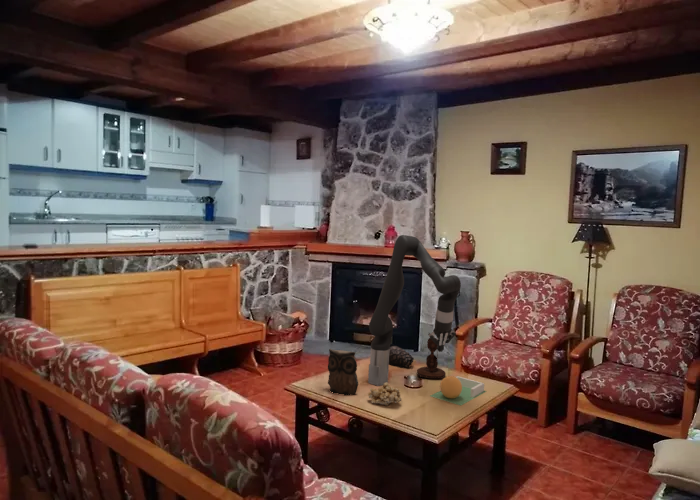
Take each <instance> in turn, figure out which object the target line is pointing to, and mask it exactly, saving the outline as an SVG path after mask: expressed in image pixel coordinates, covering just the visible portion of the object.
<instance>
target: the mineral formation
mask: <svg viewBox="0 0 700 500" xmlns="http://www.w3.org/2000/svg"><path fill="white" fill-rule="evenodd" d="M367 396H368V398H369V399H371V403H372V404H379V405H384V406H389V404H391V403H395V404H397V403H400V402H402V399H403V398H402V397H401V391H400V389H398V388H397V387H396V388H395V387H392V386H391V385H390V384H389V382H388V383H387V382H385V383H384V384H383V385H381V387H379V388H378V389H377V388H369V392H368V393H367Z"/></svg>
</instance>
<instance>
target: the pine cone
mask: <svg viewBox="0 0 700 500" xmlns="http://www.w3.org/2000/svg"><path fill="white" fill-rule="evenodd" d="M414 360H415V359H414V357H413V356H412V354H410V353H409V352H408V351H406V350H405V349H403V348H402V347H399V346H397V345H390V350H389V366H393V367H397V368H401V369H405V370H410V369H411V366H412V364H413V363H414Z"/></svg>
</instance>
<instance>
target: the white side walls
mask: <svg viewBox="0 0 700 500" xmlns="http://www.w3.org/2000/svg"><path fill="white" fill-rule="evenodd" d="M455 377H456V378H458V379H459V380H460V382H461V384H462V386H463V387H467V388H470V389H471V395H470V397H472V398H473V397H475V396H477V395H478V394H480V393H482V392H484V391H485V383H484V382H481V381H477V380H473V379H470V378H466V377H463V376H459V375H457V376H455ZM477 397H478V396H477Z"/></svg>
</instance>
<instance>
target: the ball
mask: <svg viewBox="0 0 700 500" xmlns="http://www.w3.org/2000/svg"><path fill="white" fill-rule="evenodd" d="M439 389H440V391H441V393H442V394H443V395H444V396H445V397H447V398H451V399H453V398H456V397H458V396H459V395H460V394H461V392H462V384H461V382H460V380H459V379H458V378H456V376H452V375H448V376H445V377H443V378H442V379H441V381H440V385H439Z"/></svg>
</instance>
